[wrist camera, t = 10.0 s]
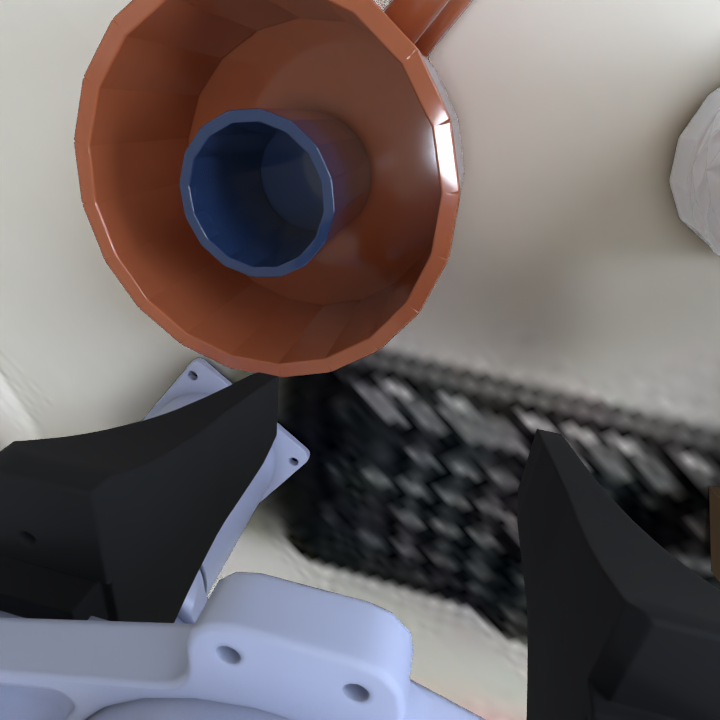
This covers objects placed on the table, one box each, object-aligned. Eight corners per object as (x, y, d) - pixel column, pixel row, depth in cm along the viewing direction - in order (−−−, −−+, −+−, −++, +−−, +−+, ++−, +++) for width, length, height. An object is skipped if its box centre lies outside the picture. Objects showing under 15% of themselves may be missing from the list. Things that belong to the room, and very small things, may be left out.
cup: (320, 259, 23) (269, 307, 17) (235, 179, 22) (152, 201, 16) (396, 173, 21) (367, 195, 15) (305, 81, 20) (238, 68, 14)
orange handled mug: (332, 358, 26) (287, 436, 19) (137, 181, 24) (18, 205, 18) (612, 85, 19) (681, 70, 13) (368, -195, 17) (305, -374, 11)
